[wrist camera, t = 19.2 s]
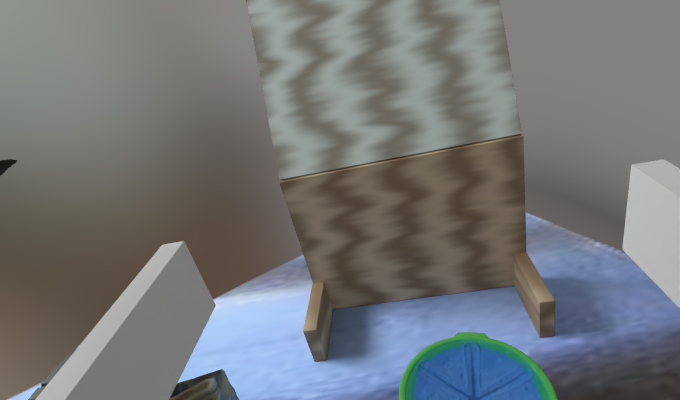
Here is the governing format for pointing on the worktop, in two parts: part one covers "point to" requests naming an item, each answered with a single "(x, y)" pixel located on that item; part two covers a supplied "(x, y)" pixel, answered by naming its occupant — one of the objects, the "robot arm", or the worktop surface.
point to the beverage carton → (205, 388)
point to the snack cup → (474, 372)
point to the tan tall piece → (397, 151)
